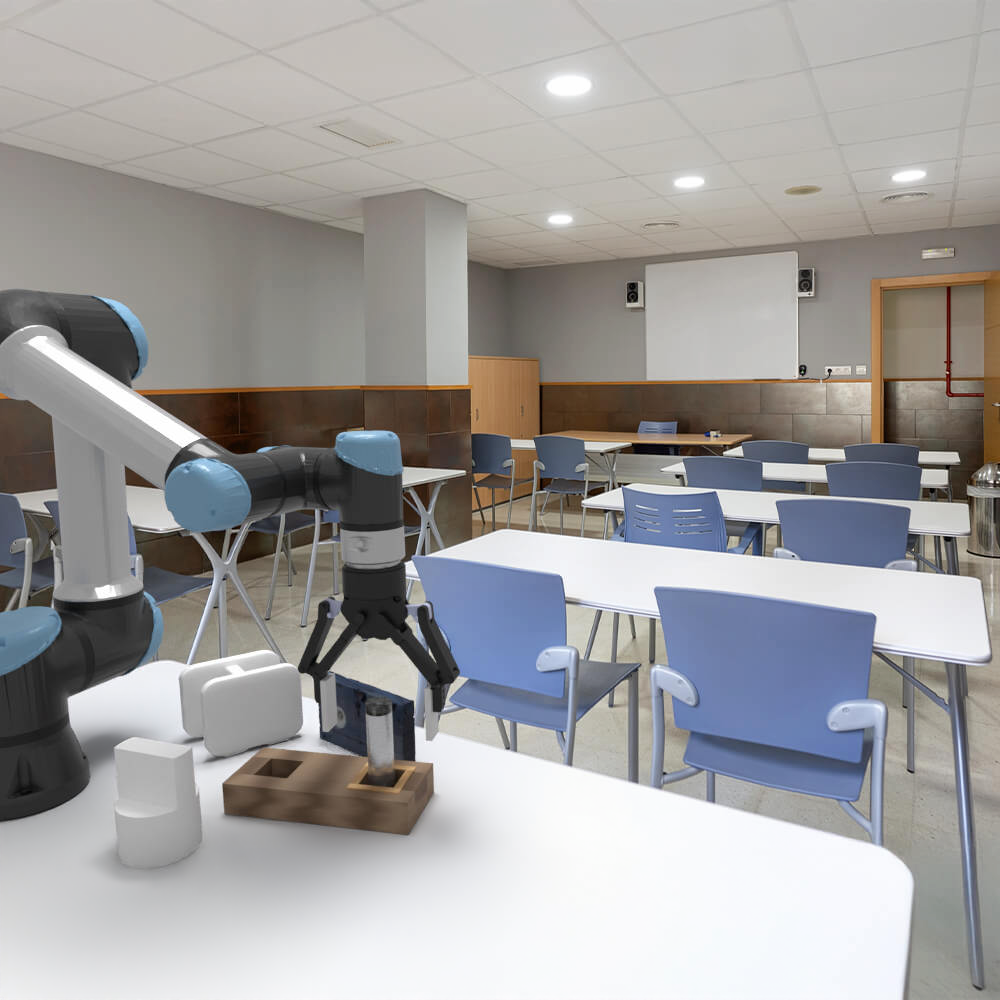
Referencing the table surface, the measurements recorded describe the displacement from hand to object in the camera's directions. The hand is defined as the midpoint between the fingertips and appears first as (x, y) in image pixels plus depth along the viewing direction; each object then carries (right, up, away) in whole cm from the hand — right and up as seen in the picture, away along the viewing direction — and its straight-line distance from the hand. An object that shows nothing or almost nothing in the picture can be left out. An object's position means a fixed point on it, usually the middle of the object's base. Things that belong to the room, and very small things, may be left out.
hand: (380, 731), depth 99 cm
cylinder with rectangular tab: (-25, -12, -6) cm, 28 cm away
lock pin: (0, -10, +1) cm, 10 cm away
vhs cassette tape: (-5, -8, +17) cm, 19 cm away
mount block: (-7, -10, +3) cm, 12 cm away
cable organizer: (-24, -8, +22) cm, 33 cm away
